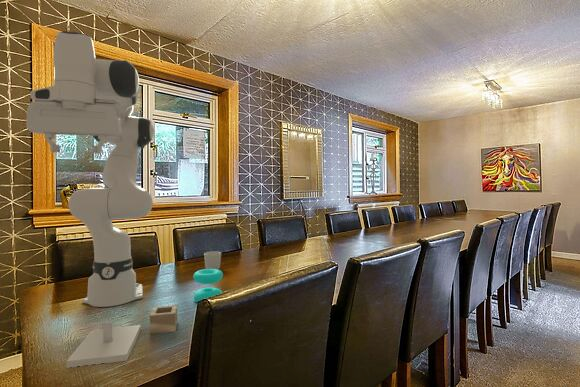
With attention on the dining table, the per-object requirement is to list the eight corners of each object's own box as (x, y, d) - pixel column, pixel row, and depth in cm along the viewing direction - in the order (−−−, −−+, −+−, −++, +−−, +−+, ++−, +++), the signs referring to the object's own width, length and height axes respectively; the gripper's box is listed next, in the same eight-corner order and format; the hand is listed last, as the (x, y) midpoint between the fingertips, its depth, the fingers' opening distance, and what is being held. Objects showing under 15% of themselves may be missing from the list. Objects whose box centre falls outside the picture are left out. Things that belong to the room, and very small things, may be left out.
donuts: (189, 275, 107) (197, 268, 117) (190, 305, 107) (197, 295, 117) (220, 275, 107) (224, 267, 117) (220, 304, 108) (225, 294, 118)
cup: (203, 267, 158) (203, 250, 158) (219, 265, 161) (219, 249, 161) (204, 272, 148) (204, 255, 148) (222, 271, 151) (222, 254, 150)
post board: (91, 335, 86) (91, 312, 85) (140, 330, 89) (140, 308, 88) (66, 368, 70) (65, 340, 70) (126, 360, 73) (126, 334, 73)
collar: (153, 324, 92) (153, 307, 92) (177, 322, 94) (177, 304, 94) (149, 334, 86) (149, 315, 86) (175, 331, 88) (175, 313, 88)
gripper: (124, 103, 87) (124, 154, 87) (35, 98, 82) (36, 153, 82) (118, 97, 81) (118, 152, 81) (21, 91, 76) (23, 150, 76)
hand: (76, 152), depth 81 cm, fingers open, 8 cm apart
